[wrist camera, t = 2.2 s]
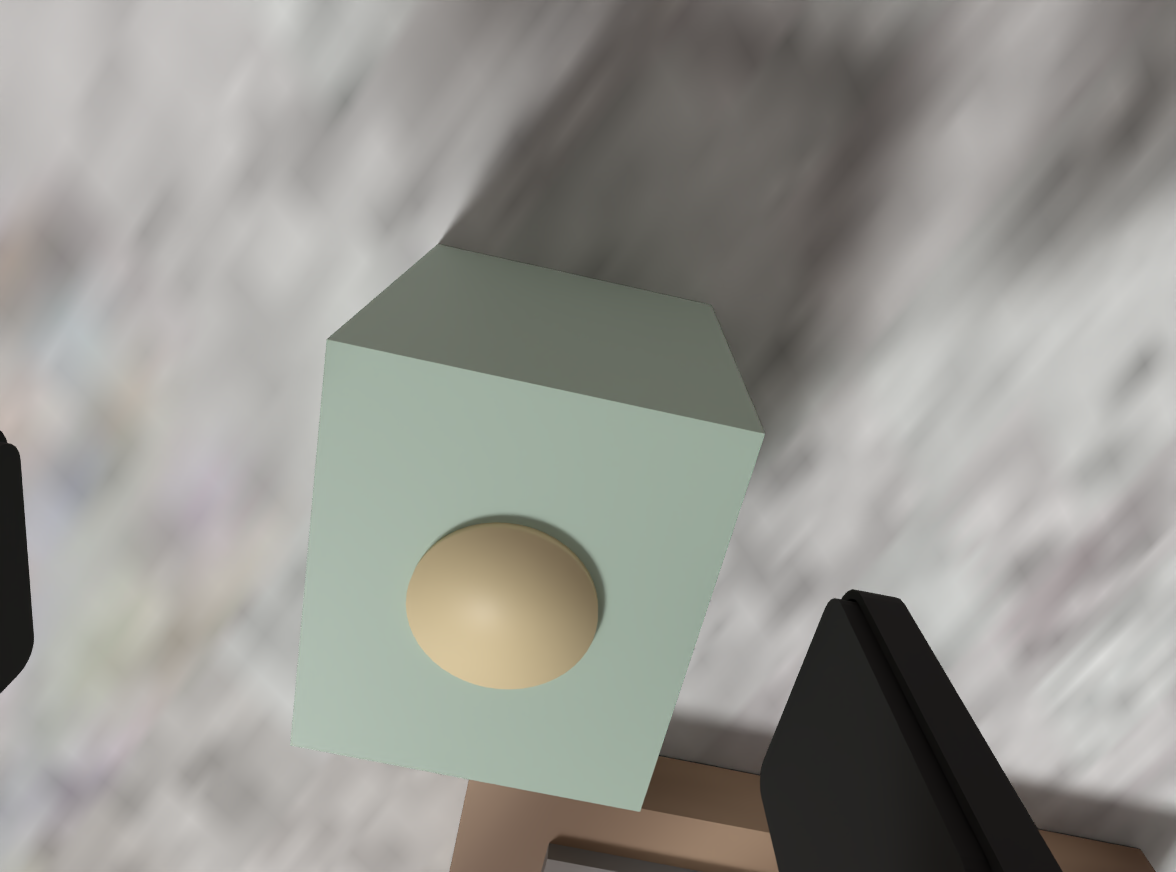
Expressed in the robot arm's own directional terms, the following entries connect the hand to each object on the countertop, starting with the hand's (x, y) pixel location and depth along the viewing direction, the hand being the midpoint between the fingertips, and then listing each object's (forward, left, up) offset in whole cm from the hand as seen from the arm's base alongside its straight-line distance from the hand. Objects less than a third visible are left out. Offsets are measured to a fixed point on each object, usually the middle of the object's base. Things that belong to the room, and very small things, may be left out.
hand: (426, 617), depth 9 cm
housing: (-1, 0, -7) cm, 7 cm away
